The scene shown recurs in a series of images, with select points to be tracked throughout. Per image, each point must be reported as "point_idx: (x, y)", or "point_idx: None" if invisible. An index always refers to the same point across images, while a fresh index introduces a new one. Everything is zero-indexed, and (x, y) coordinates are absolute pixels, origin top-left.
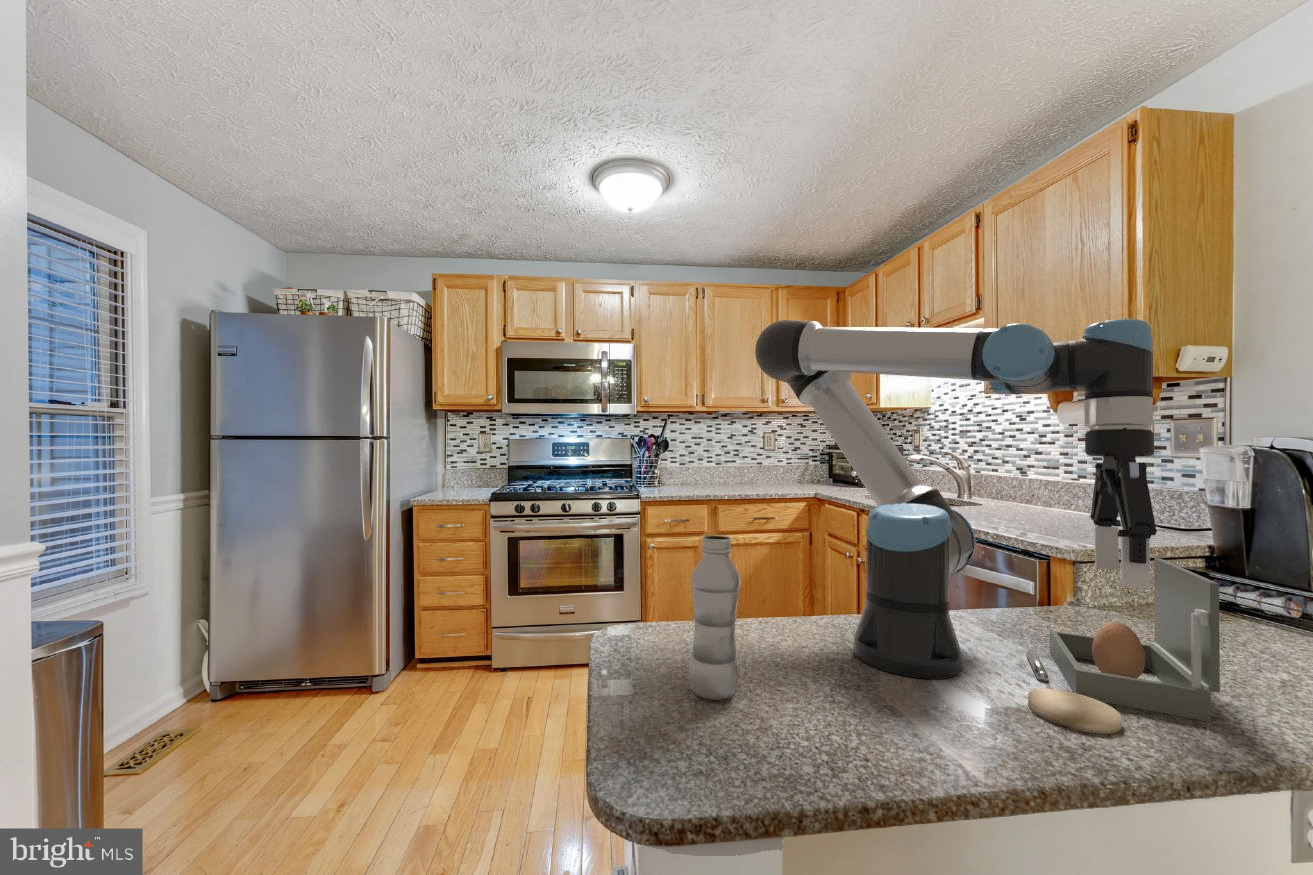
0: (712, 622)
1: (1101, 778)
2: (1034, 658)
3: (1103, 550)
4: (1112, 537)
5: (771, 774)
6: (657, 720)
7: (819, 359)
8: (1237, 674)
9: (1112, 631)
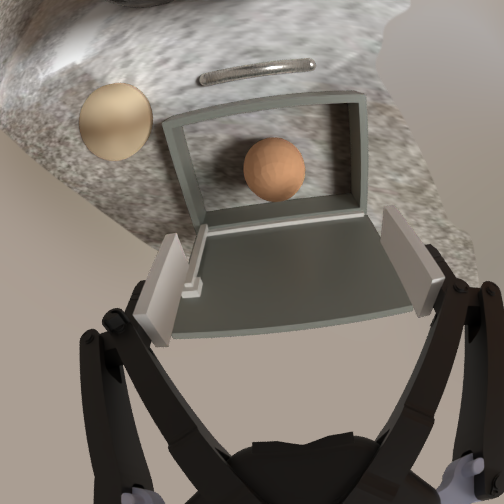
0: None
1: (33, 157)
2: (264, 67)
3: (401, 246)
4: (410, 287)
5: None
6: None
7: None
8: None
9: (257, 175)
